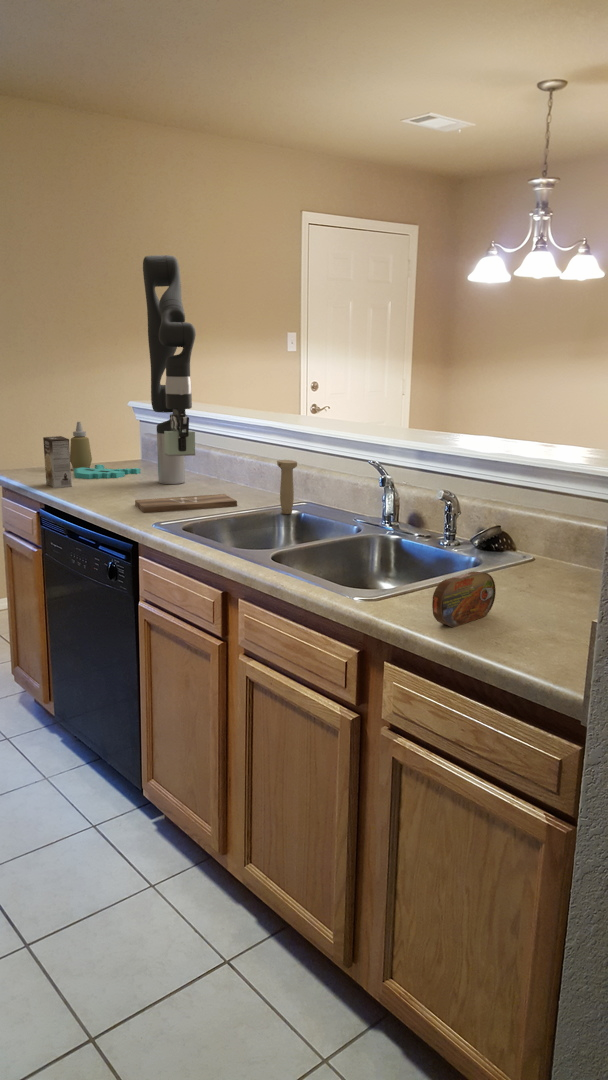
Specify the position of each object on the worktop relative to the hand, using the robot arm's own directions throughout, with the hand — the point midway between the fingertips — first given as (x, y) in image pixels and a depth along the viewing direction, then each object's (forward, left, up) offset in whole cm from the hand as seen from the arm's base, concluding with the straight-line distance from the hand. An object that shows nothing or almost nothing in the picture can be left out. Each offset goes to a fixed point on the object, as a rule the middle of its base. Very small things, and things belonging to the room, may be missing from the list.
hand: (180, 449), depth 240 cm
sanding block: (0, 0, -1) cm, 1 cm away
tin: (+121, +19, -16) cm, 124 cm away
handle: (+25, +24, -16) cm, 38 cm away
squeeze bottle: (-76, -19, -16) cm, 80 cm away
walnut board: (+4, 0, -16) cm, 17 cm away
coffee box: (-44, -31, -16) cm, 56 cm away
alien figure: (-62, -14, -17) cm, 66 cm away
